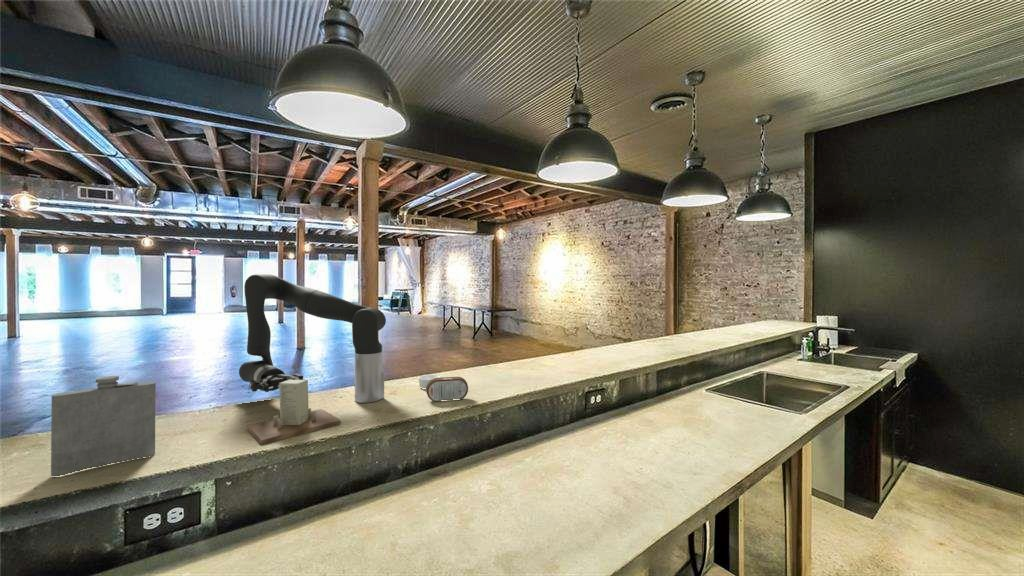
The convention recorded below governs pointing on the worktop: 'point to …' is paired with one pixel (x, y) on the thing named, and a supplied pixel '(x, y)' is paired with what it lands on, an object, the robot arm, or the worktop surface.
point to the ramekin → (426, 380)
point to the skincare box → (294, 402)
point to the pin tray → (291, 426)
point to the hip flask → (102, 425)
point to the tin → (447, 388)
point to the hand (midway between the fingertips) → (283, 385)
